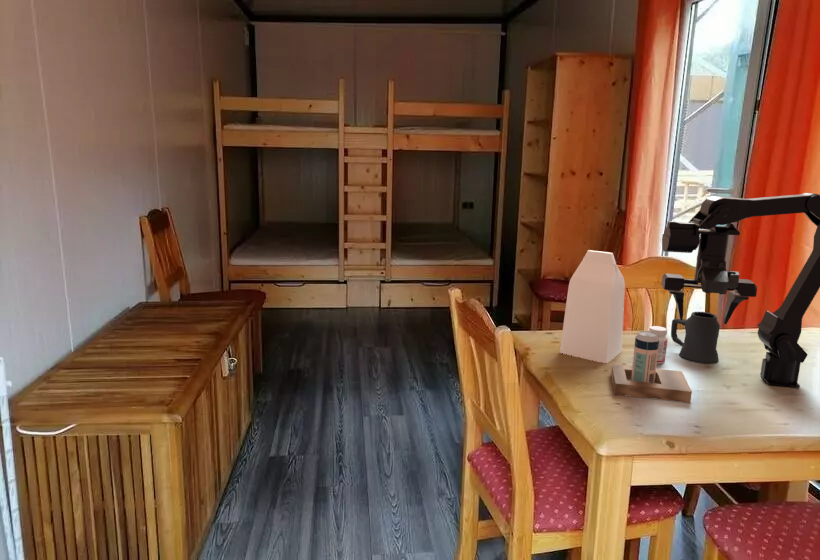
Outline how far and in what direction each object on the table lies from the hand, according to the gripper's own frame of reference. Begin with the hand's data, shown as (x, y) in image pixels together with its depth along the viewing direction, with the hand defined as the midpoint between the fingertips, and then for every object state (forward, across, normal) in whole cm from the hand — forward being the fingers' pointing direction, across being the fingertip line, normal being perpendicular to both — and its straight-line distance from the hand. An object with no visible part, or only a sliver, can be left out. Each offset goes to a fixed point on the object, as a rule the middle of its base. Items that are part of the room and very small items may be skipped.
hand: (702, 321), depth 141 cm
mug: (+13, +2, +15) cm, 20 cm away
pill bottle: (+13, -8, +8) cm, 17 cm away
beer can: (+13, -13, -11) cm, 21 cm away
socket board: (+13, -11, -11) cm, 20 cm away
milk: (+13, -23, +10) cm, 28 cm away
